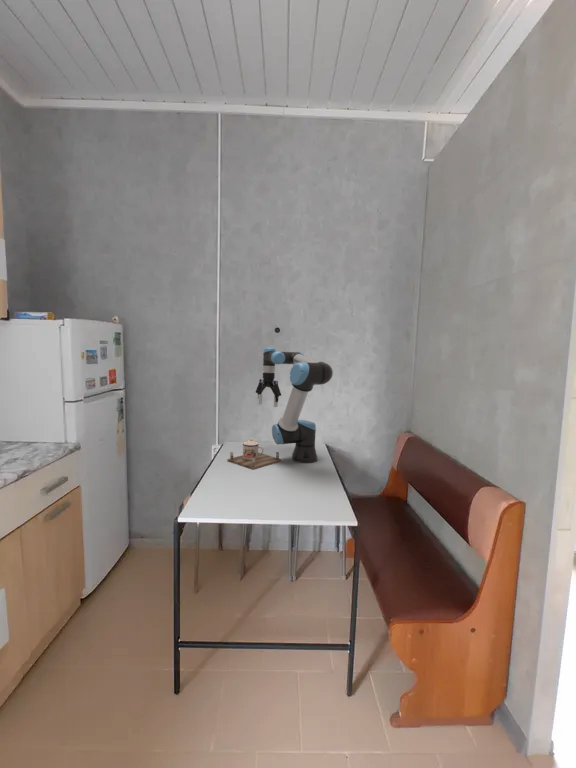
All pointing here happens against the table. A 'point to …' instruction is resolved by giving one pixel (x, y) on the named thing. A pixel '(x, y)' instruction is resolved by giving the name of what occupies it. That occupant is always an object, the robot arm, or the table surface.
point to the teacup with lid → (251, 450)
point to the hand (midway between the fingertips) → (267, 405)
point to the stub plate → (254, 464)
